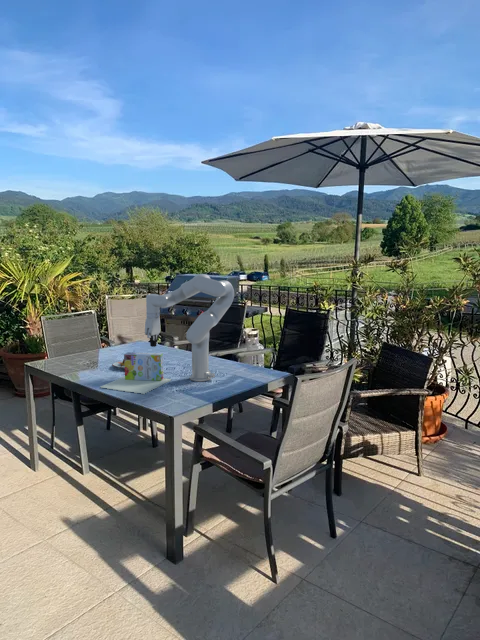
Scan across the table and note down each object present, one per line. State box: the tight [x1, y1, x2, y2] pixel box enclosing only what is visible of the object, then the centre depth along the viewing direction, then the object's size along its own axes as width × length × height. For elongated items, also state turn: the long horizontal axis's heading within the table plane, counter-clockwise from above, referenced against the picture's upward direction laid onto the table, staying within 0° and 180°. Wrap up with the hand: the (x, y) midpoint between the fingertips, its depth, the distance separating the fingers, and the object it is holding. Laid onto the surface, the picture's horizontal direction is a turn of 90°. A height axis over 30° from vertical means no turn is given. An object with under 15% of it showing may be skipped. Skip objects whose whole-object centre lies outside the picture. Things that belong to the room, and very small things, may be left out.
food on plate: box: [111, 358, 125, 369], centre depth 271 cm, size 25×25×7 cm
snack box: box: [123, 351, 164, 381], centre depth 240 cm, size 21×6×15 cm, turn 84°
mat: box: [100, 375, 172, 395], centre depth 234 cm, size 28×27×1 cm
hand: (153, 346), depth 249 cm, fingers closed
